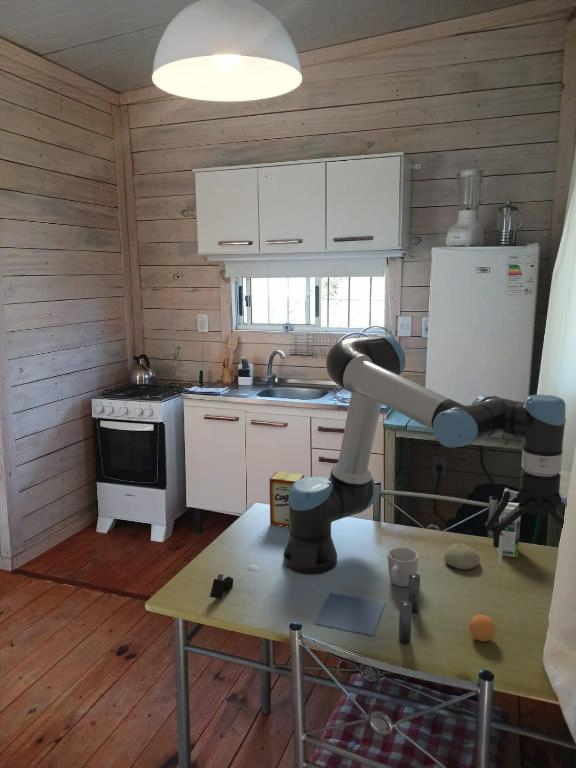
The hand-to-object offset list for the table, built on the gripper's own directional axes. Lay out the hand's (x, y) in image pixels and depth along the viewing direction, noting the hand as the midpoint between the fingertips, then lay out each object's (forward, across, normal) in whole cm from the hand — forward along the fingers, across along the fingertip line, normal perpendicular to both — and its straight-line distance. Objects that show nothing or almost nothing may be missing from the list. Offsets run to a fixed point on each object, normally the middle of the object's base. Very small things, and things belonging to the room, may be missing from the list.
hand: (533, 566), depth 127 cm
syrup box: (+19, -4, +44) cm, 49 cm away
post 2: (+19, -26, +6) cm, 32 cm away
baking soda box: (+19, -71, +43) cm, 85 cm away
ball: (+16, -10, 0) cm, 19 cm away
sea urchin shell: (+19, -16, +34) cm, 42 cm away
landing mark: (+19, -40, 0) cm, 44 cm away
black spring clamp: (+19, -73, -3) cm, 75 cm away
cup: (+19, -30, +17) cm, 40 cm away
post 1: (+19, -26, -7) cm, 33 cm away
